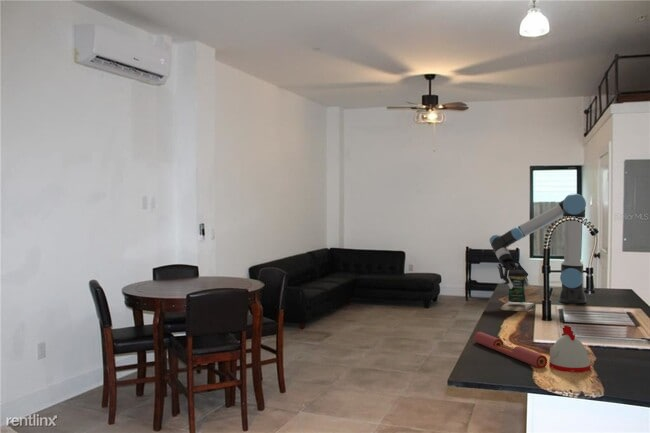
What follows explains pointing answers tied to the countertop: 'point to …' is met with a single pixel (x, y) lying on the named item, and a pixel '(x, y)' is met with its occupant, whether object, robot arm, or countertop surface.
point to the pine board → (517, 306)
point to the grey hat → (569, 353)
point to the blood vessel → (511, 350)
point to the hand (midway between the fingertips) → (520, 287)
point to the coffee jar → (517, 286)
